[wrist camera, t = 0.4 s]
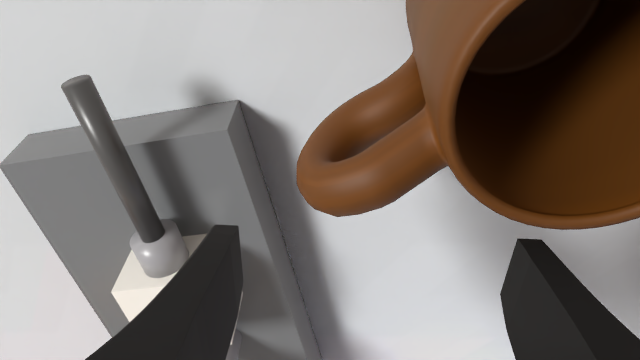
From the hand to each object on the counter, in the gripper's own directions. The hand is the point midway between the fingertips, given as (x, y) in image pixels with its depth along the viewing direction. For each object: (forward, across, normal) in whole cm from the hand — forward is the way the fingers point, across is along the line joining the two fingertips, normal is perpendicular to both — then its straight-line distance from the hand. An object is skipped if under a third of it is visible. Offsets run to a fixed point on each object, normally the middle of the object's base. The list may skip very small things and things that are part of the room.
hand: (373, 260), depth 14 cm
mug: (+10, -3, -3) cm, 11 cm away
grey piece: (+10, +8, +10) cm, 17 cm away
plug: (+8, +9, +4) cm, 12 cm away
